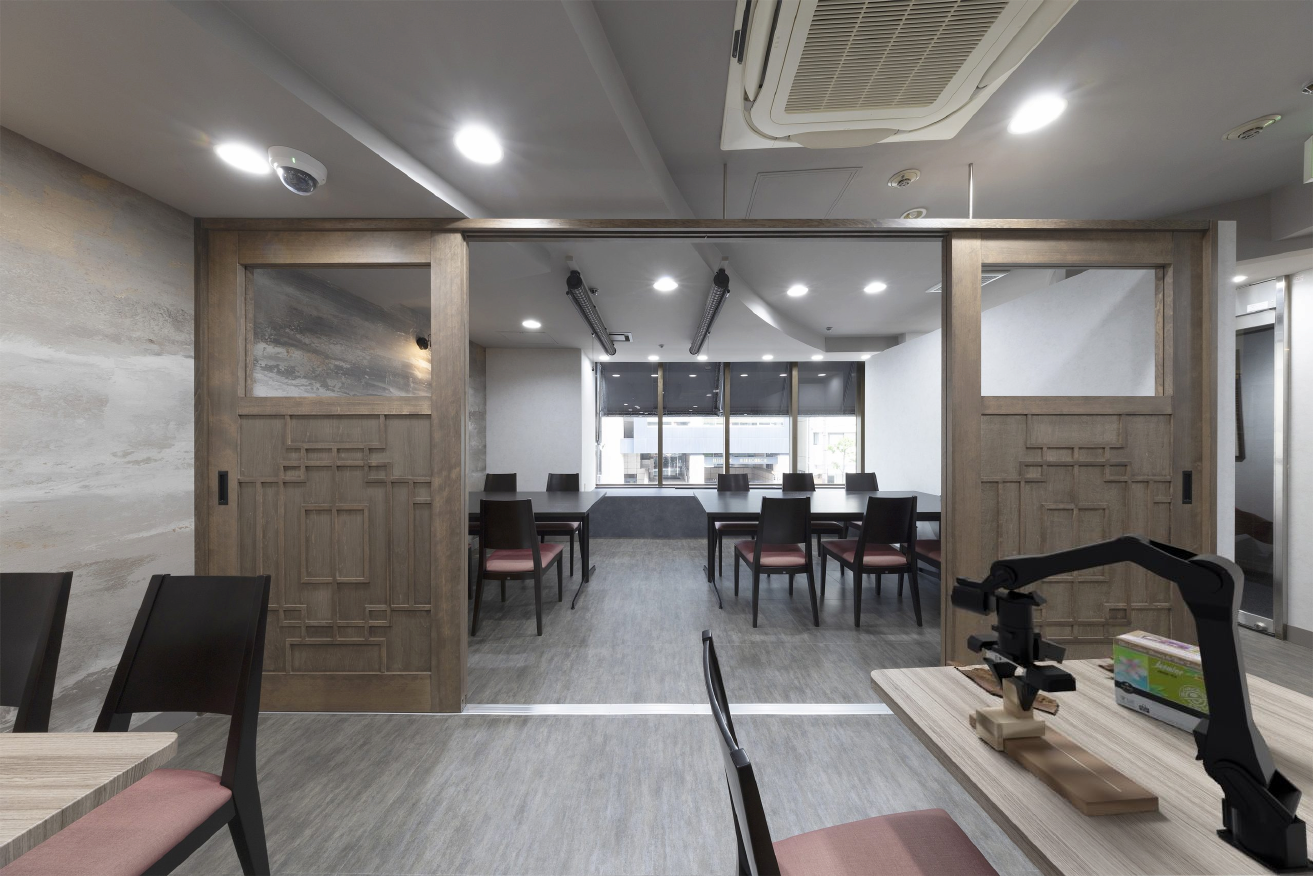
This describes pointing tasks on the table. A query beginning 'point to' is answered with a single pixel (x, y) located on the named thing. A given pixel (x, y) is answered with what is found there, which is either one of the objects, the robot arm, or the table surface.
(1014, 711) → the block
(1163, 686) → the tea box
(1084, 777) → the walnut board
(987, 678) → the wooden fragment
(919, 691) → the table surface
